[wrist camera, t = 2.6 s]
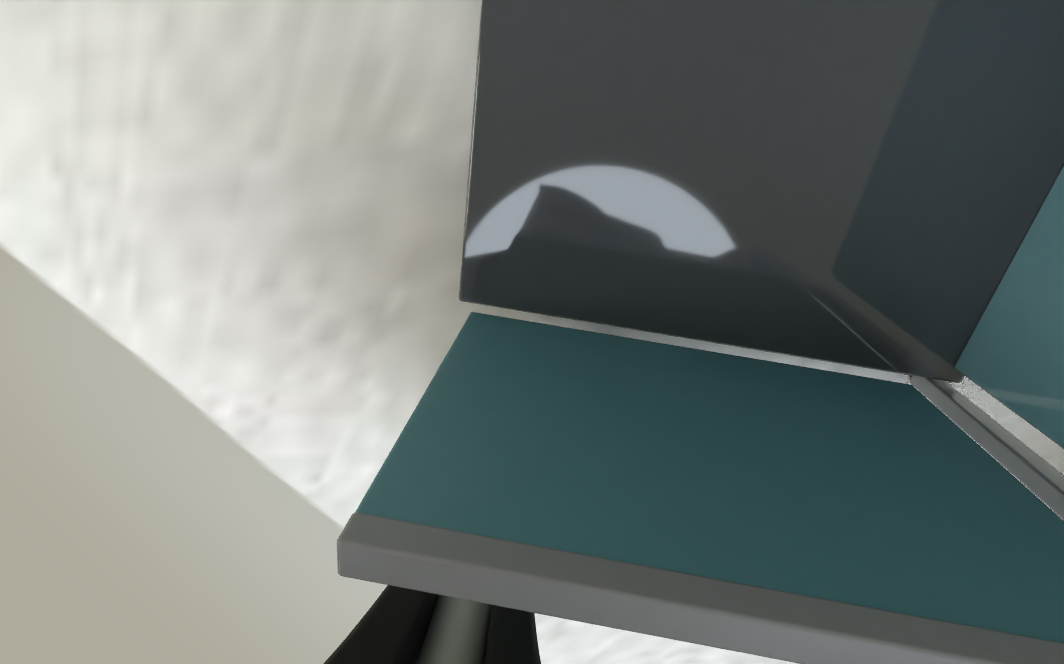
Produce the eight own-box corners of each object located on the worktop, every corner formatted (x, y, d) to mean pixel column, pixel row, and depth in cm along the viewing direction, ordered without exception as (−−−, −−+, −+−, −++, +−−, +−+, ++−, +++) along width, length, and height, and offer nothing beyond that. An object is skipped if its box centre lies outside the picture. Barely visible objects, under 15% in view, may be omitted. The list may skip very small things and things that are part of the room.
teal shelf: (827, 549, 14) (1026, 933, 8) (455, 482, 15) (344, 790, 8) (913, 382, 12) (1298, 722, 5) (471, 309, 12) (334, 540, 6)
